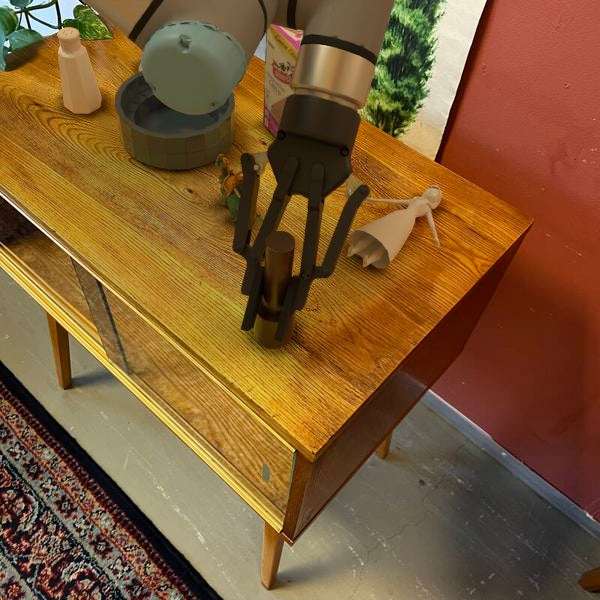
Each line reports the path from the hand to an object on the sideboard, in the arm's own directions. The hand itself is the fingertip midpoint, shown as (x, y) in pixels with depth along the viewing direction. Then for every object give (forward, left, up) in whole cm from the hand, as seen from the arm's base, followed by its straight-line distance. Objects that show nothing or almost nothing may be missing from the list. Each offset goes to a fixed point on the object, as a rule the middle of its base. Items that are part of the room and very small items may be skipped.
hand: (263, 333), depth 67 cm
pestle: (0, +4, -5) cm, 6 cm away
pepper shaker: (-35, +36, -5) cm, 50 cm away
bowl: (-20, +33, -5) cm, 39 cm away
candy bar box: (-4, +36, -5) cm, 36 cm away
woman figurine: (+12, +23, -5) cm, 26 cm away
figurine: (-8, +20, -5) cm, 22 cm away
